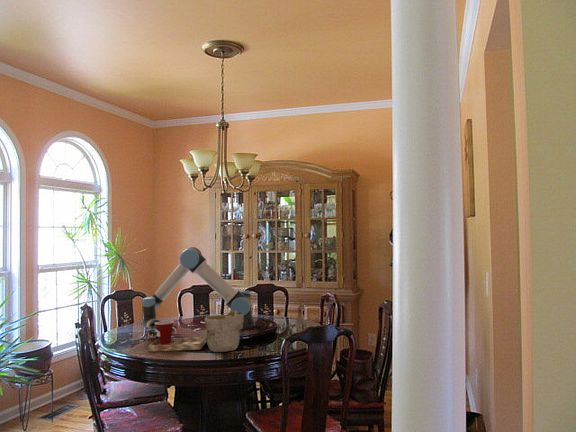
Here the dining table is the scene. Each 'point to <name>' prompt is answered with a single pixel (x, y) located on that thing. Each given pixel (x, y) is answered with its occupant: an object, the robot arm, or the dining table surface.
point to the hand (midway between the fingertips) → (167, 332)
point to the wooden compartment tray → (178, 344)
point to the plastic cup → (165, 331)
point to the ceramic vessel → (224, 331)
